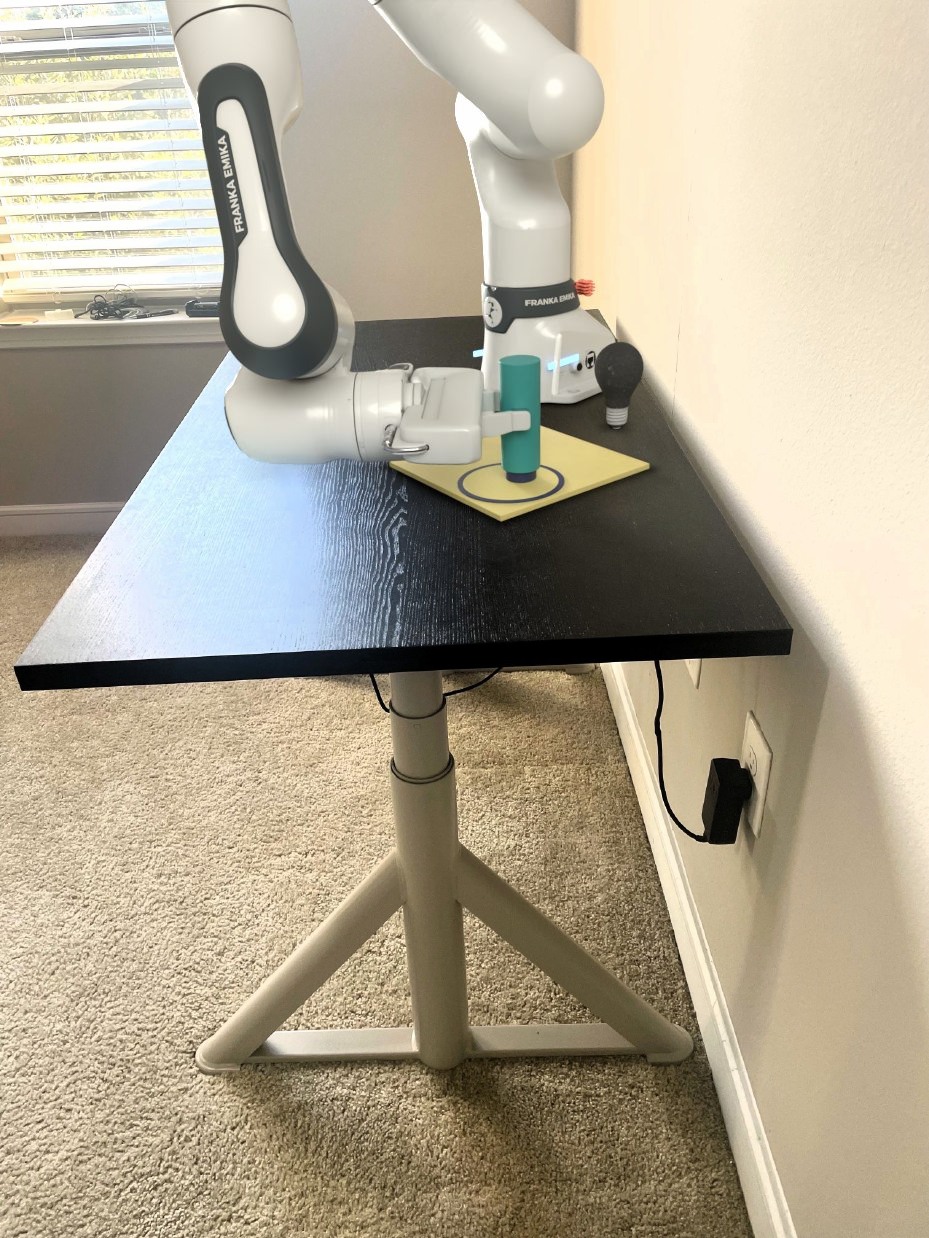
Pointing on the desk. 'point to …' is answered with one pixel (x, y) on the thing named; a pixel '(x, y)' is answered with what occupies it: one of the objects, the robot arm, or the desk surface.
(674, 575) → the desk surface
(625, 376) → the light bulb
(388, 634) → the desk surface
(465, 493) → the writing pad
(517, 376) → the cylinder
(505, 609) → the desk surface
